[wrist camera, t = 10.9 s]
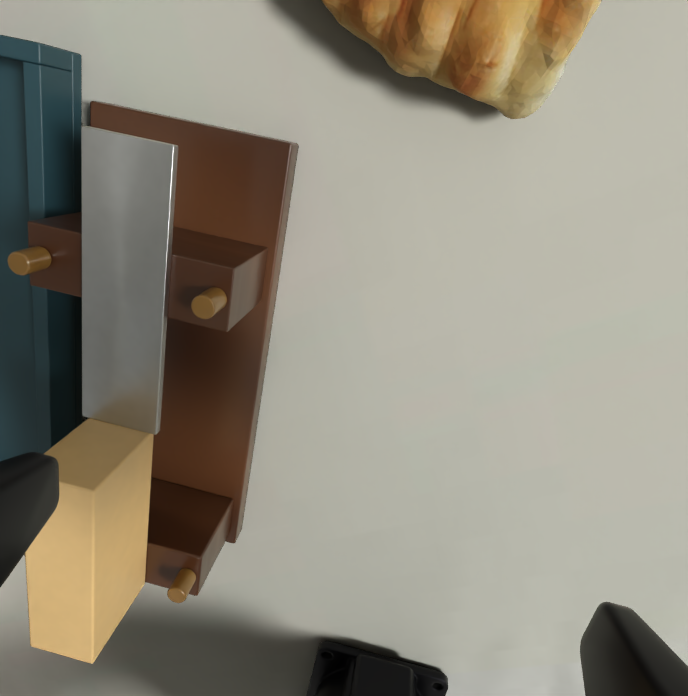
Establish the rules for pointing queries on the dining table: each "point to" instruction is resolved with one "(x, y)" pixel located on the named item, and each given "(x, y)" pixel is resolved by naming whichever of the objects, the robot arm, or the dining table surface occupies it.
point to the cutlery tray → (12, 235)
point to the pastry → (474, 43)
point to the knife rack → (197, 327)
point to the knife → (109, 400)
